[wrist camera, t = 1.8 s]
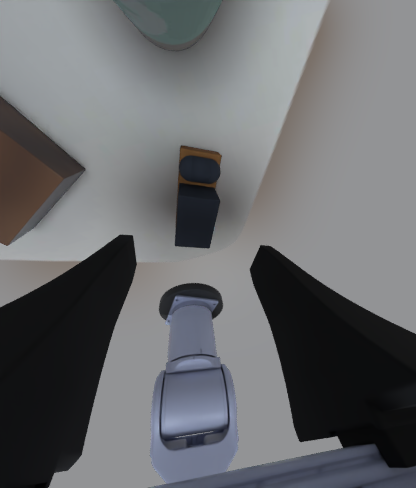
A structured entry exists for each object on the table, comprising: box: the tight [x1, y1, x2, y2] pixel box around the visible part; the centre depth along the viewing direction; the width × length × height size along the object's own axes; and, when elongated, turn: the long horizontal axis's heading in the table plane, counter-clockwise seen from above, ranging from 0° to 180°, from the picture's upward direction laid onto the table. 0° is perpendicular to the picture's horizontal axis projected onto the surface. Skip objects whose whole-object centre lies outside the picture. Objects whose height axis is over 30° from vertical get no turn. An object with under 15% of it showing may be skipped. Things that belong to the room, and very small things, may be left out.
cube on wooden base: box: [175, 146, 222, 248], centre depth 14 cm, size 7×3×5 cm, turn 170°
